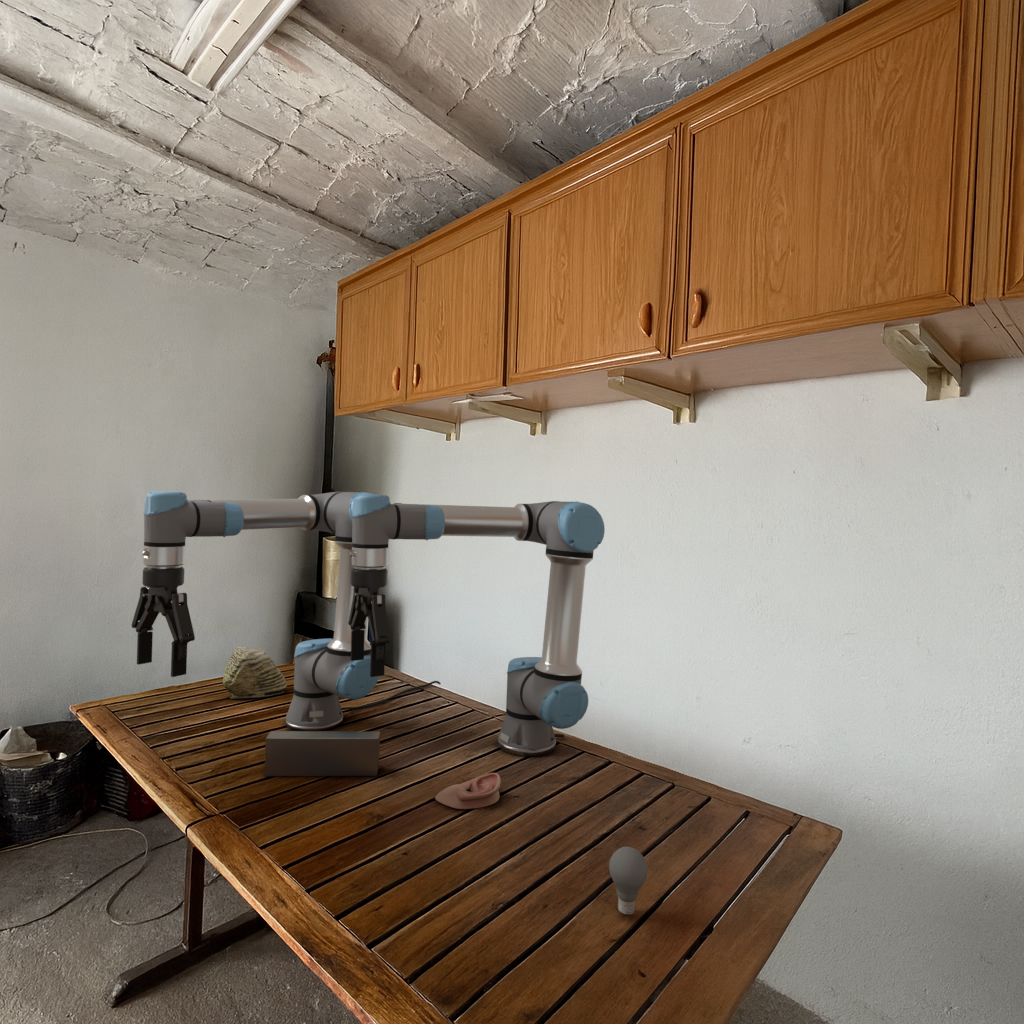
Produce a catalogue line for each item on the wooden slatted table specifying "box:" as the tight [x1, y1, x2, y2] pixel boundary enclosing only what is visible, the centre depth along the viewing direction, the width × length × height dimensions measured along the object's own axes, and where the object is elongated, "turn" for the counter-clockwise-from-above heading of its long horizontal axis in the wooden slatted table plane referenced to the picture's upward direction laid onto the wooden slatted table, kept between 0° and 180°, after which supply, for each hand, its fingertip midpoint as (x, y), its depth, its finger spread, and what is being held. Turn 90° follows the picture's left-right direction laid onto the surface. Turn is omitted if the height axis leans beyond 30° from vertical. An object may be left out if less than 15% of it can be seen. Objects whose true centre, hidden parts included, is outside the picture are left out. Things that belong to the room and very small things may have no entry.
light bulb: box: [608, 846, 649, 915], centre depth 100 cm, size 6×6×10 cm
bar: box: [263, 730, 381, 777], centre depth 146 cm, size 25×4×9 cm, turn 96°
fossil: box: [222, 646, 288, 699], centre depth 198 cm, size 9×18×15 cm, turn 132°
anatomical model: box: [434, 772, 502, 810], centre depth 136 cm, size 13×4×12 cm
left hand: (160, 669), depth 131 cm, fingers open, 13 cm apart
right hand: (366, 667), depth 134 cm, fingers open, 13 cm apart
